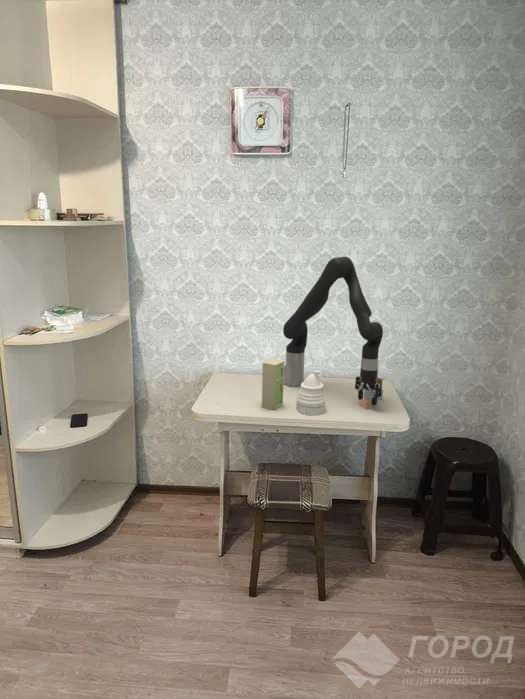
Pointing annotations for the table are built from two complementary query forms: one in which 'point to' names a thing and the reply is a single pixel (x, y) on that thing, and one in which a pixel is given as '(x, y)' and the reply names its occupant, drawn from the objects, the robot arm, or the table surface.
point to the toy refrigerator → (272, 384)
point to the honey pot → (311, 396)
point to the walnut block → (379, 381)
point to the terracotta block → (366, 403)
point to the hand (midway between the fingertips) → (367, 402)
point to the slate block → (369, 396)
